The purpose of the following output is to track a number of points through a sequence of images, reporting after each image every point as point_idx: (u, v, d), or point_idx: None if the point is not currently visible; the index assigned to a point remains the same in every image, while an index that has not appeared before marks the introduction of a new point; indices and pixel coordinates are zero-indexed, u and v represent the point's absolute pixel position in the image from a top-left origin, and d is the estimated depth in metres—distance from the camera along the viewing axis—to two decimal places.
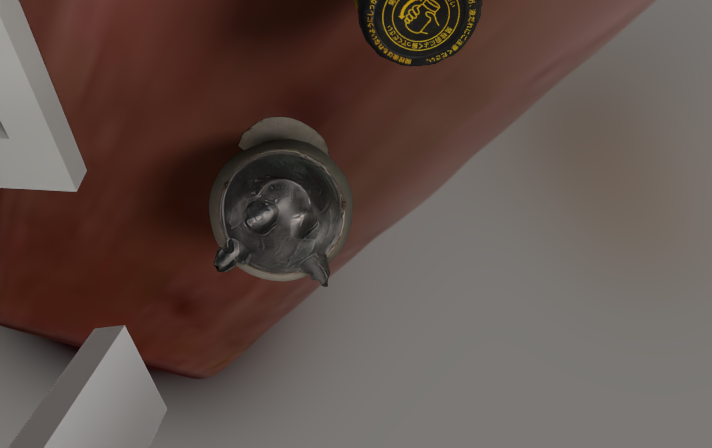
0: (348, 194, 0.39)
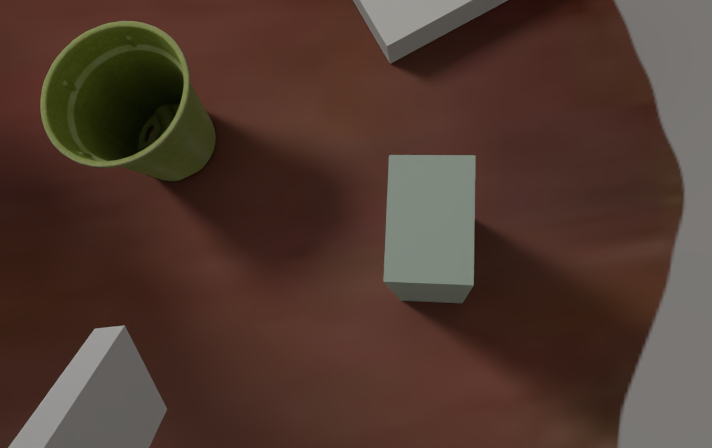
0: None
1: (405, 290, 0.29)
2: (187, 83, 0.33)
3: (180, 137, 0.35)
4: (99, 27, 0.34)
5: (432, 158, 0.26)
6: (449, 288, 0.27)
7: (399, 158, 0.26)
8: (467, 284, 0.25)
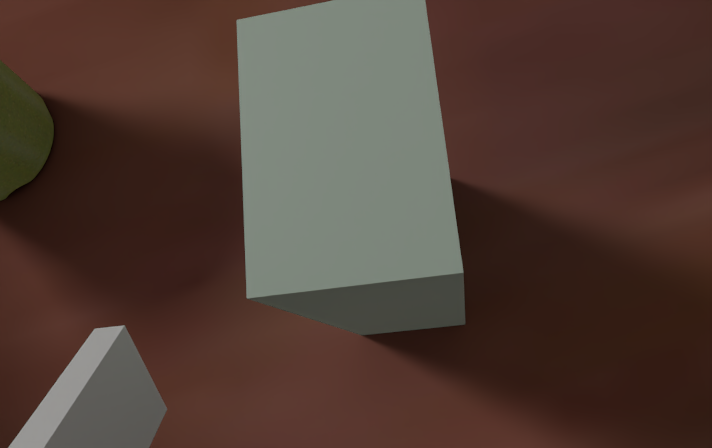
0: None
1: (335, 314, 0.14)
2: None
3: None
4: None
5: (329, 8, 0.12)
6: (415, 293, 0.12)
7: (259, 22, 0.12)
8: (448, 273, 0.10)
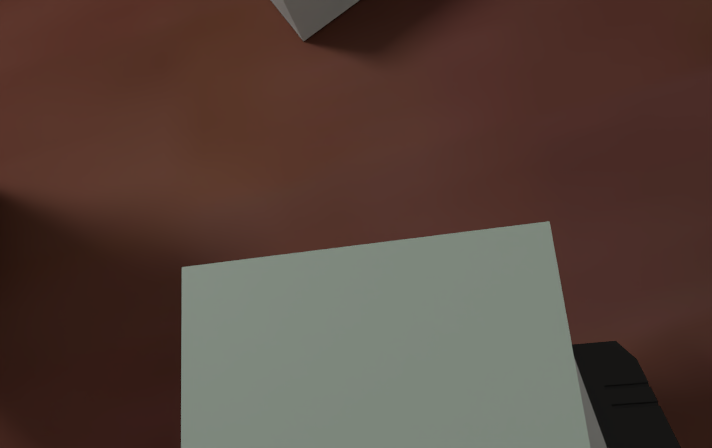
0: None
1: None
2: None
3: None
4: None
5: (360, 259, 0.06)
6: None
7: (224, 275, 0.06)
8: None
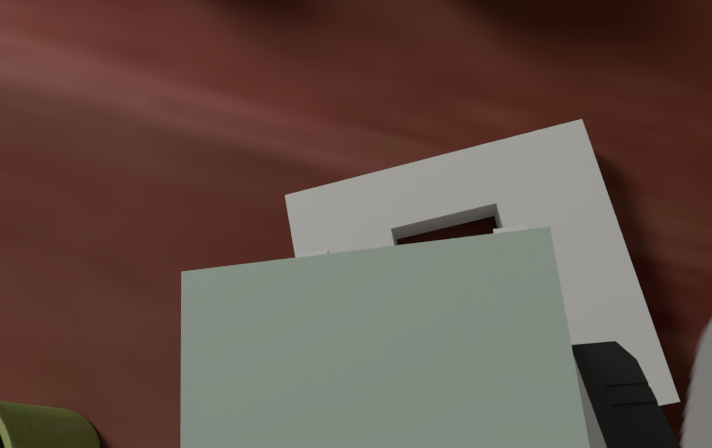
0: None
1: None
2: None
3: None
4: None
5: (360, 264, 0.06)
6: None
7: (224, 280, 0.06)
8: None
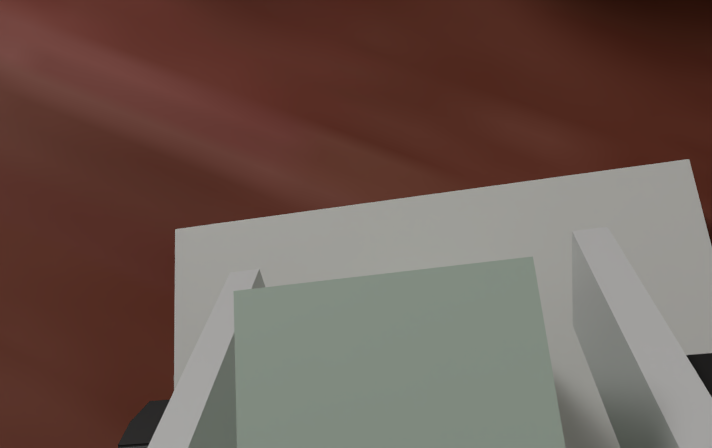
0: None
1: None
2: None
3: None
4: None
5: (380, 285, 0.07)
6: None
7: (269, 297, 0.08)
8: None
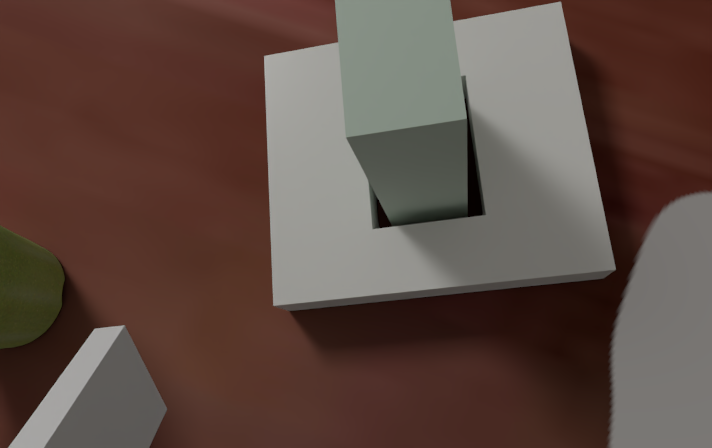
0: None
1: (385, 175, 0.22)
2: None
3: None
4: None
5: None
6: (438, 147, 0.20)
7: None
8: (458, 120, 0.18)
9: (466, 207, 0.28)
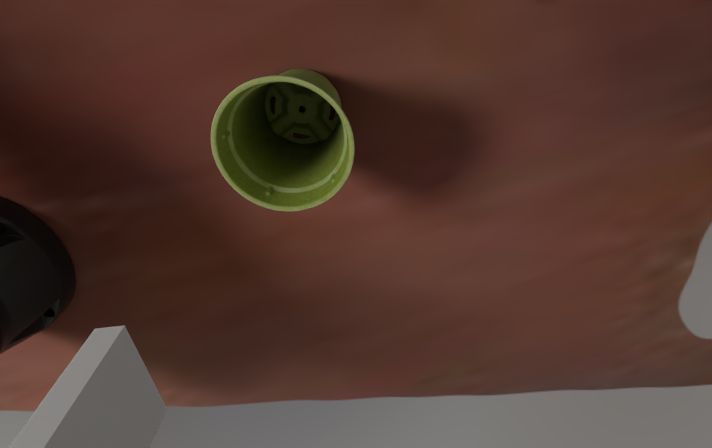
0: None
1: None
2: (350, 130, 0.35)
3: (340, 152, 0.39)
4: (240, 88, 0.35)
5: None
6: None
7: None
8: None
9: None
